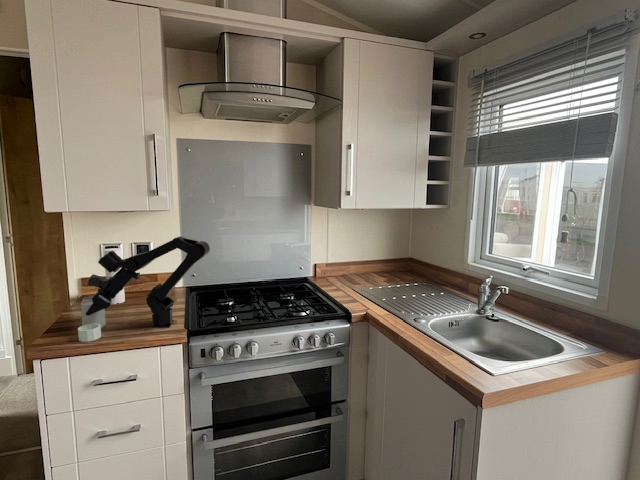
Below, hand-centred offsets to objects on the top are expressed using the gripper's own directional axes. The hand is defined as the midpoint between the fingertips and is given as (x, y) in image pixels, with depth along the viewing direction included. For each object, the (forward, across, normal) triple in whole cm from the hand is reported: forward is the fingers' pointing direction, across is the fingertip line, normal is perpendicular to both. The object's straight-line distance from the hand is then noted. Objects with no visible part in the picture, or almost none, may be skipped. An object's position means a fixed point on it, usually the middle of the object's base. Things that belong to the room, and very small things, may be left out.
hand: (88, 311), depth 137 cm
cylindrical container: (+2, -33, +8) cm, 34 cm away
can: (+4, 0, +6) cm, 7 cm away
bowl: (+4, +9, +6) cm, 12 cm away
